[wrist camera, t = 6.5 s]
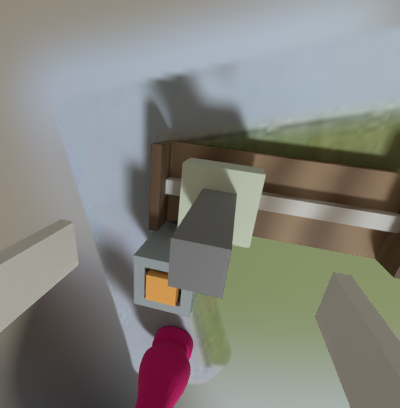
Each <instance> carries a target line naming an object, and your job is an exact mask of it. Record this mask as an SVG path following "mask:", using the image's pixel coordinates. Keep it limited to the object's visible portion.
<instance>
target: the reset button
mask: <svg viewBox="0 0 400 408" xmlns="http://www.w3.org/2000/svg"><path fill="white" fill-rule="evenodd" d="M180 291H181V289H179V288H174V287H170V286H168V272H163V271H159V270H154V269H150V270H149V271H148V273H147V275H146V300H150V301H155V302H159V303H163V304H167V305H171V306H175V304H176V302H177V299H178V297H179V294H180Z"/></svg>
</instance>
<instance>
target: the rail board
mask: <svg viewBox="0 0 400 408" xmlns="http://www.w3.org/2000/svg"><path fill="white" fill-rule="evenodd" d="M189 158H197V159H204V160H211V161H218V162H225V163H232V164H239V165H246V166H253V167H259V168H263V169H264V172H265V174H266V176H265V181H264V185H263V190H262V194H261V199H260V203H259V207H258V212H257V216H256V221H255V225H254V229H253V234H252V236H256V237H261V238H267V239H272V240H277V241H283V242H288V243H294V244H298V245H304V246H309V247H314V248H320V249H325V250H330V251H336V252H341V253H346V254H352V255H357V256H363V257H368V258H374V259H376V260H377V261H378V262H379V263H380V264H381V265H382V266H383V267H384V268H385V269H386V270H387V271H388V272H389V273H390V274H391V275H392V276H393V277H394V278H399V279H400V172H396V171H389V170H382V169H374V168H367V167H359V166H352V165H345V164H337V163H330V162H322V161H315V160H308V159H300V158H293V157H285V156H278V155H270V154H263V153H256V152H248V151H241V150H233V149H226V148H219V147H211V146H204V145H196V144H189V143H182V142H174V141H163V142H158V143H153V144H151V179H150V215H149V230H154V231H158V230H159V229H160V228H161V227H162V226H163V224H164V223H165V222H166V221H167V220H171V221H176V222H178V215H179V203H180V190H181V178H182V166H183V162H184V161H186V160H188V159H189Z"/></svg>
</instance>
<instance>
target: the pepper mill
mask: <svg viewBox="0 0 400 408" xmlns="http://www.w3.org/2000/svg"><path fill="white" fill-rule="evenodd" d="M192 348H193V341H192V339H191V337H190V336H189V334H188V333H186V332H185V331H184V330H182V329H180V328H177V327H173V326H166V327H163V328H161V329H159V330H158V332H157V333H156V336H155V338H154V341H153V343H152V347H151V348H149V349H148V350H147V351H146V352H145V354H144V356H143V358H142V361H141V364H140V369H139V378H138V398H137V403H136V407H135V408H173V406H174V405H175V403H176V402H177V400H178V399H179V398H180V396H181V395H182V393H183V391H184V389H185V387H186V385H187V383H188V379H189V376H190V370H191V369H190V364H189V361H188V360H189V359H190V357H191V353H192Z"/></svg>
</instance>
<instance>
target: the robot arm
mask: <svg viewBox="0 0 400 408" xmlns="http://www.w3.org/2000/svg"><path fill="white" fill-rule="evenodd" d="M77 265H78V255H77V246H76V238H75V229H74V222H71V221H66V220H59V221H57V222H55V223H53V224H51V225H49V226H47V227H46V228H44V229H42V230H40V231H38V232H36V233H34V234H33V235H30V236H28V237H27V238H25V239H23V240H21V241H19V242H17V243H15V244H13V245H12V246H9V247H8V248H6V249H4V250H2V251H0V332H1V331H2V330H3V329H4V328H6V327H7V326H8V325H9V324H10V323H11V322H13V321H14V320H15V319H16V318H17V317H18V316H20V315H21V314H22V313H23V312H24V311H25V310H27V308H29V307H30V306H31V305H32V304H33V303H35V302H36V301H37V300H38V299H39V298H40V297H42V296H43V295H44V294H45V293H46V292H47V291H49V290H50V289H51V288H52V287H53V286H54V285H55V284H57V283H58V282H59V281H60V280H61V279H62V278H64V277H65V276H66V275H67V274H68V273H69V272H70V271H72V270H73V269H74V268H75V267H76V266H77ZM315 317H316V320H317V322H318V325H319V328H320V330H321V333H322V335H323V338H324V340H325V343H326V346H327V348H328V351H329V353H330V356H331V358H332V361H333V363H334V366H335V369H336V371H337V374H338V376H339V379H340V381H341V384H342V386H343V389H344V392H345V394H346V397H347V399H348V402H349V405H350V407H351V408H400V341H399V340H398V338H397V337H396V336H395V334H394V333H393V332H392V331H391V329H390V328H389V326H388V325H387V323H386V322H385V321H384V319H383V318H382V317H381V315H380V314H379V313H378V311H377V310H376V308H375V307H374V306H373V305H372V303H371V302H370V300H369V299H368V298H367V296H366V295H365V294H364V292H363V291H362V290H361V288H360V287H359V285H358V284H357V283H356V281H355V280H354V279H353V277H352V276H351V275H346V274H341V273H336V272H333V274H332V277H331V279H330V282H329V284H328V286H327V289H326V291H325V294H324V296H323V298H322V301H321V303H320V306H319V308H318V311H317V313H316V315H315Z"/></svg>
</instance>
